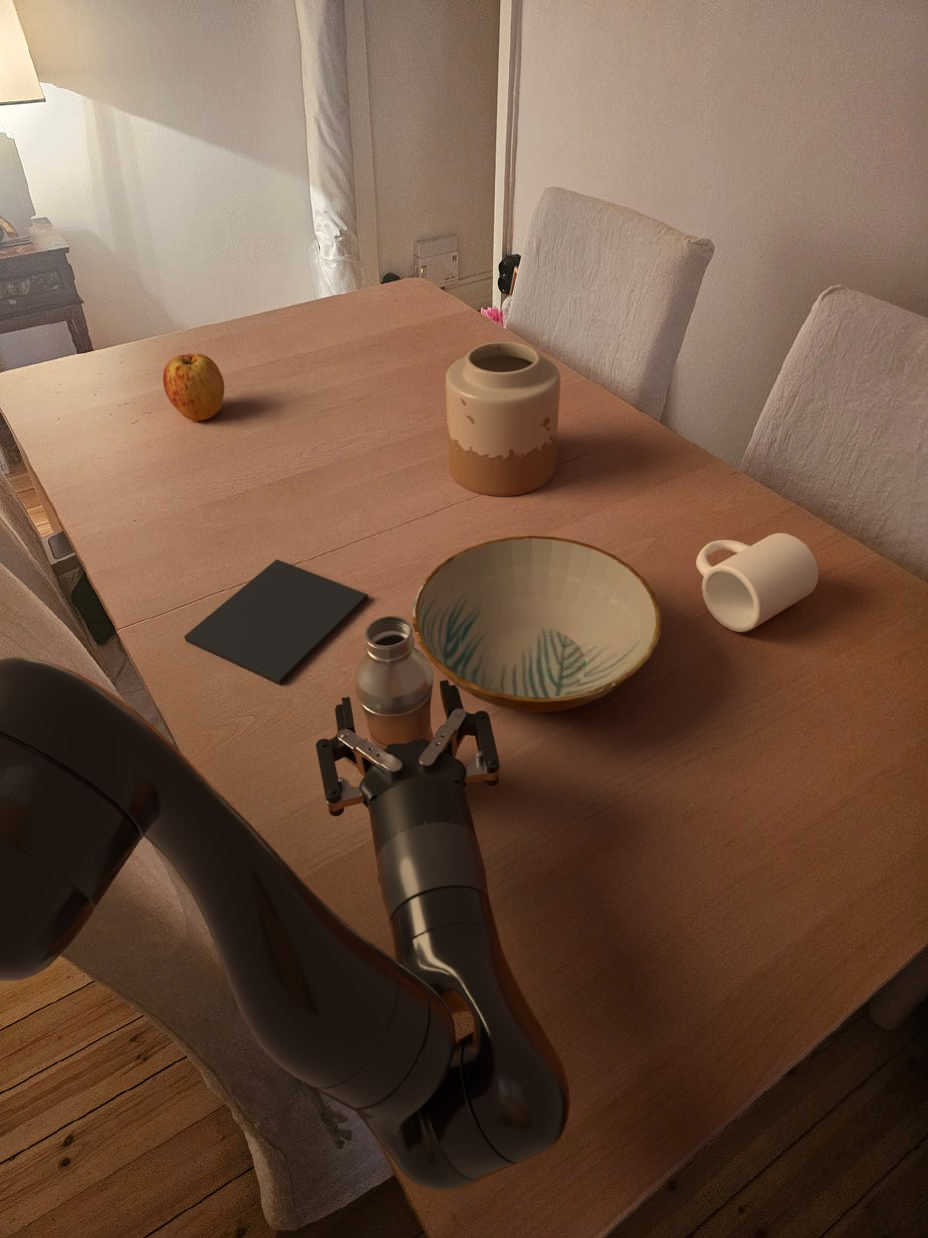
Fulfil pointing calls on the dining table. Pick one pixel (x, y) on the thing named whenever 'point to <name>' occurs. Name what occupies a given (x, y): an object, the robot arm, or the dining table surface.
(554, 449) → the vase
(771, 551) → the mug
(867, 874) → the dining table surface
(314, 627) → the mat
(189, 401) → the apple
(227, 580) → the dining table surface
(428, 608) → the bowl
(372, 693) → the silver metal bottle
